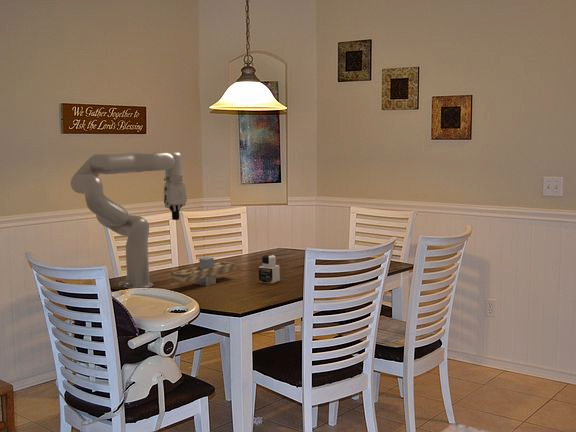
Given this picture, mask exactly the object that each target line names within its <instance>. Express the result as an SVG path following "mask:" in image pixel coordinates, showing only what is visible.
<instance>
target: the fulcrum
mask: <svg viewBox="0 0 576 432" xmlns="http://www.w3.org/2000/svg"><path fill="white" fill-rule="evenodd" d="M216 279H217V275H213V276H209V277H204V278H200V279H196V280H193V284H194V285H198V286H199V285H200V286H204V287H208V286H212V285H216V284H217V282H216V281H217V280H216Z"/></svg>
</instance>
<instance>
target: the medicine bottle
mask: <svg viewBox="0 0 576 432" xmlns="http://www.w3.org/2000/svg"><path fill="white" fill-rule="evenodd" d="M276 260H277V258H276V256H275V255H274V254H265V255H262V258H261V262H262V263H261V264H262V265H261V266H259V267H258V283H262V284H263V283H264V284H275V283H277V282H280V281H281V275H280V274H281V273H280V272H281V271H280V269H281V266H280V265H279V264H277V263H276V262H277V261H276Z"/></svg>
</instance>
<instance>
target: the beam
mask: <svg viewBox="0 0 576 432" xmlns="http://www.w3.org/2000/svg"><path fill="white" fill-rule="evenodd" d="M236 264H237V263H236V262H228V261H219V262H214V268H207V269H205V270H200V265H197V266H195V267H191V268H187V269H181V270H177V271H173V272H170V276H171V277H170V279H171V281H175V282H181V283H187V282H192V281H194V280H196V279H200V278H204V277H209V276H213V275H216V276H217V275H221V274H224V273H229V272H233V271H236V267H237V266H236Z"/></svg>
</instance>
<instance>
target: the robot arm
mask: <svg viewBox="0 0 576 432" xmlns="http://www.w3.org/2000/svg"><path fill="white" fill-rule="evenodd" d="M182 166H183V162H182V154H181V152H178V151H176V152H173V151H172V152H171V151H170V152H169V151H168V152H151V153H141V152H124V153H123V152H122V153H95V154H93V155H91V156H90V157H89V158H88V159H87V160H86V161H85V162H84V163H83V164H82V166H80V168H79V169H77V170H76V172H75V173H74V174H73V176H72V177H71V180H70V187H71V190H73V192H75V193H77V194H81V195H82V194H83V195H84V200H85V204H86V207H87V208H88V210H89V211H90V212H92V213H93V214H95V217H96V219H97V221H98V222H99V224H101V225H102V226H104V227H106V228H107V229H109V230H111V231H112V232H115V234H118V235H120V236H124V237H127V238H126V243H125V261H126V265H125V267H126V277H125V278H124V280H123V281H118V282H117V285H118V287H123V288H124V287H126V288H137V287H145V288H148V289H151V288H153V287H154V283H153V282H151V281H150V268H149V265H150V264H149V234H150V225H149V222H148V220H147V219H146V218H144V217H142V216H141V215H140V216H139V215H135V214H134V215H131V214H129V213H128V210H127V209H126V208H124V207H123V206H122V205H120V204H118V203H117V202H115V201H113V200H112V199H110V198H109V197H107V196H106V195H105V194H104V189H103V187H104V185H103V182H102V180H101V178H100V177H99V175H117V174H131V173H132V174H133V173H142V172H157V171H165V172H164V173H165V177H164V178H163V181H165V183H164V187H163V203H164V208H167V209H169V210H170V212H171V218H172V219H171V220H172V221H180V211H181V209H182V207H184V206H186V203H187V201H188V199H187V197H188V195H187V190H186V185H185V182H184V181H183V167H182ZM152 286H153V287H152ZM150 287H151V288H150Z"/></svg>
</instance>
